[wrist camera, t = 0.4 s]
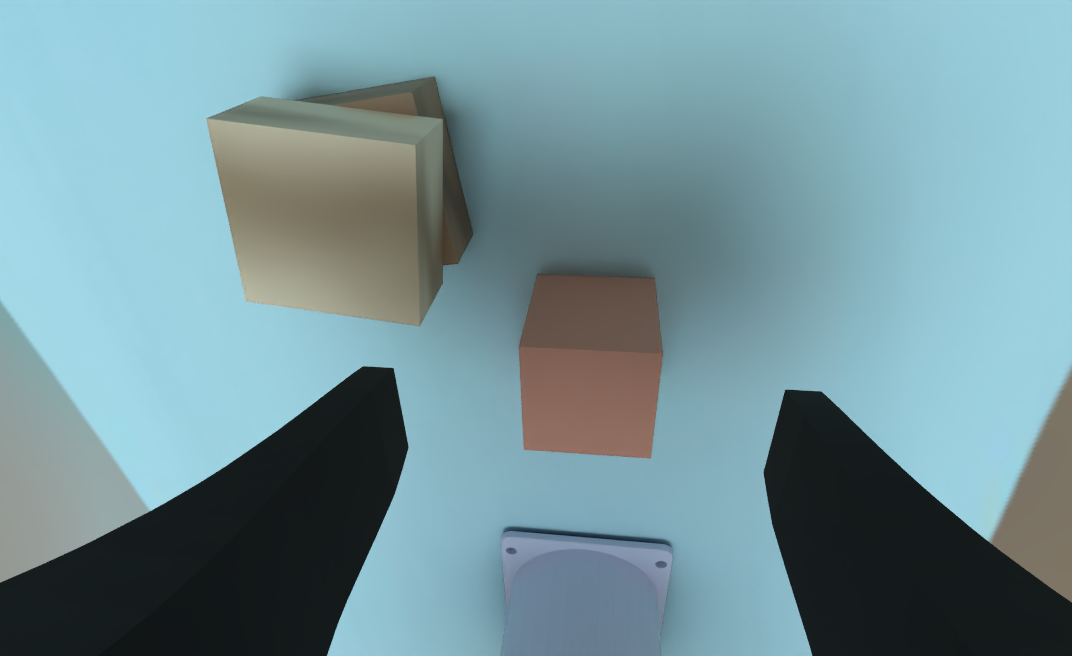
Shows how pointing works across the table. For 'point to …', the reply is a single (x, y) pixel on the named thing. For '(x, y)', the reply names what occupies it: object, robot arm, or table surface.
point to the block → (591, 365)
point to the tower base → (426, 103)
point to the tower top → (333, 206)
